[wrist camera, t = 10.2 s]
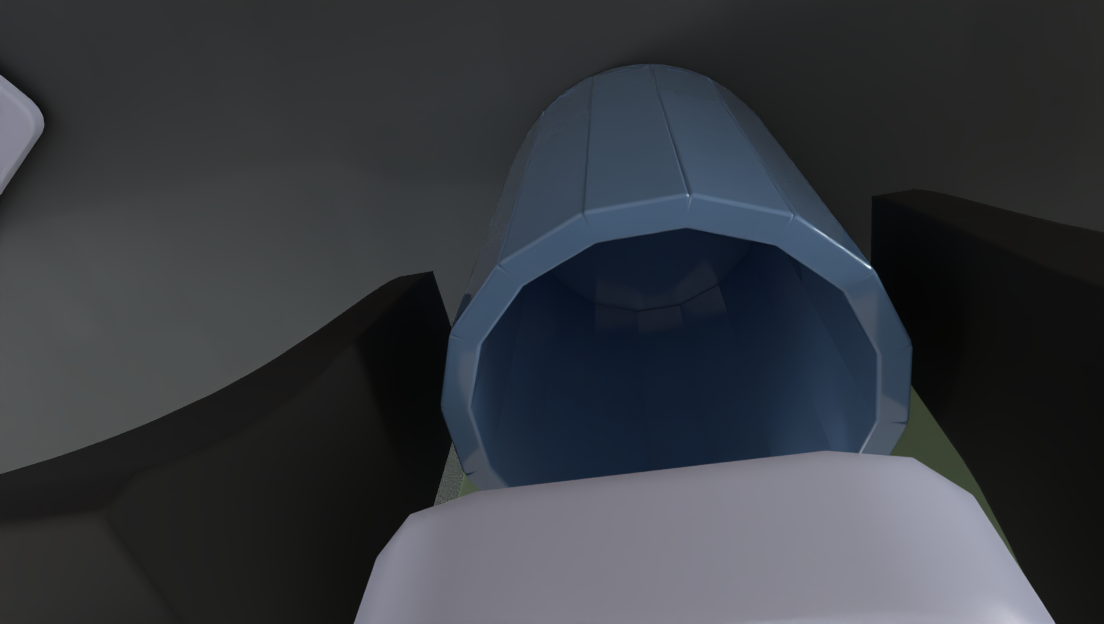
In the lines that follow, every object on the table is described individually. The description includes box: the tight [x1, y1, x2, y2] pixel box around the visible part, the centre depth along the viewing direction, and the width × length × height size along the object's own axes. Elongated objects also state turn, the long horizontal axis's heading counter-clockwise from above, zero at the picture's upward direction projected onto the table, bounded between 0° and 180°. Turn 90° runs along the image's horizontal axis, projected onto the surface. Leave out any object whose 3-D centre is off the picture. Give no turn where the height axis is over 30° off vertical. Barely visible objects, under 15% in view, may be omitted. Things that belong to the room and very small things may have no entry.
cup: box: [440, 64, 913, 491], centre depth 12 cm, size 6×6×8 cm
